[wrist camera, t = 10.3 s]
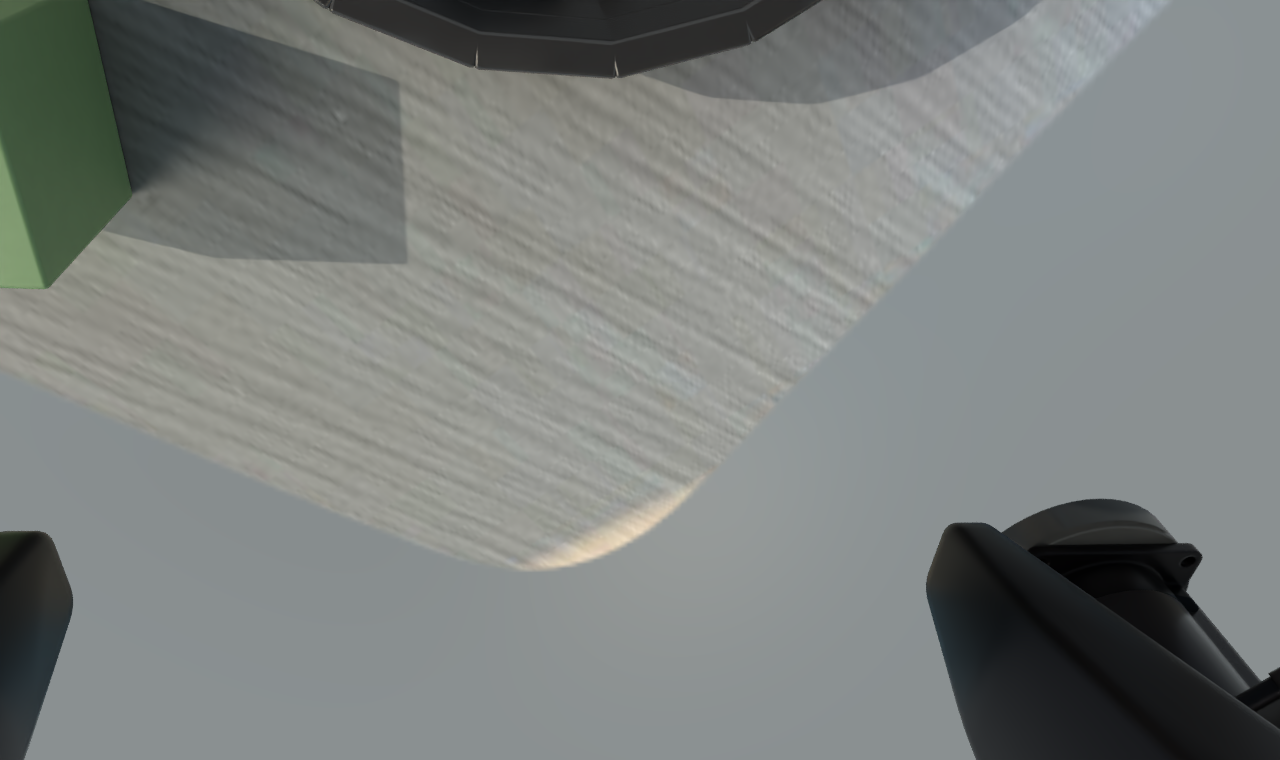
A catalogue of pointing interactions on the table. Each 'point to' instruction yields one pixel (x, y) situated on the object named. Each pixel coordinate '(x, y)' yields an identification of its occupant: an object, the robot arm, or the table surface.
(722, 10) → the pan
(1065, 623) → the robot arm
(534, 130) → the table surface
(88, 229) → the block
